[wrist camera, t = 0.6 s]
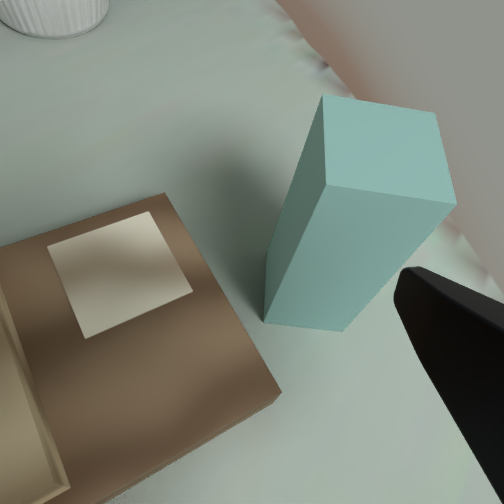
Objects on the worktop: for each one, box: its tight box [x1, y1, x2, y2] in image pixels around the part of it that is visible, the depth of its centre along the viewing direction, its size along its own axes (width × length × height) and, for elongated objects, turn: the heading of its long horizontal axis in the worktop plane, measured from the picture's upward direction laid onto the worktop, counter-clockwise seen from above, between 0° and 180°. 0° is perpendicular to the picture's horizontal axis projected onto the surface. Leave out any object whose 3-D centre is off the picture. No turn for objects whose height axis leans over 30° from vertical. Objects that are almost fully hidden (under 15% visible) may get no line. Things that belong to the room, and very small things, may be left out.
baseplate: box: [0, 193, 282, 504], centre depth 23 cm, size 14×14×3 cm
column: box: [263, 94, 457, 332], centre depth 23 cm, size 5×5×13 cm
